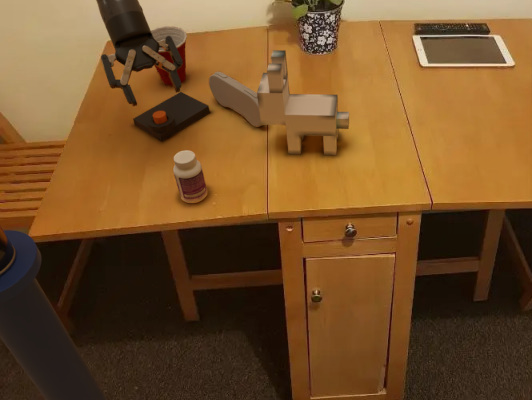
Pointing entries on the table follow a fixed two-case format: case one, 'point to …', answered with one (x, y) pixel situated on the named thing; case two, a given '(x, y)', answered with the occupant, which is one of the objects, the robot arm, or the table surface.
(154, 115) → the button
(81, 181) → the table surface
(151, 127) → the scale
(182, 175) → the pill bottle
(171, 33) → the plastic cup
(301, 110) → the toy llama
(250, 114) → the game controller
